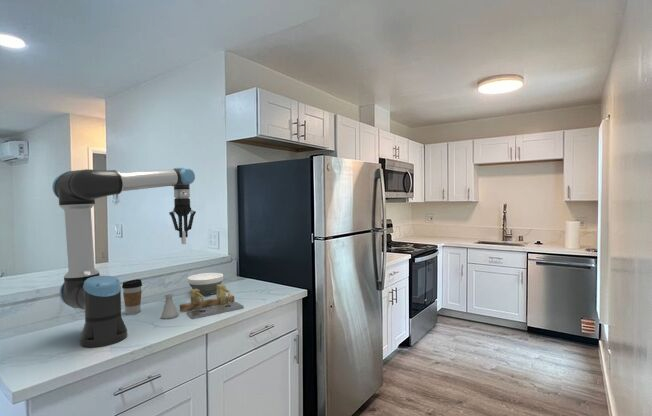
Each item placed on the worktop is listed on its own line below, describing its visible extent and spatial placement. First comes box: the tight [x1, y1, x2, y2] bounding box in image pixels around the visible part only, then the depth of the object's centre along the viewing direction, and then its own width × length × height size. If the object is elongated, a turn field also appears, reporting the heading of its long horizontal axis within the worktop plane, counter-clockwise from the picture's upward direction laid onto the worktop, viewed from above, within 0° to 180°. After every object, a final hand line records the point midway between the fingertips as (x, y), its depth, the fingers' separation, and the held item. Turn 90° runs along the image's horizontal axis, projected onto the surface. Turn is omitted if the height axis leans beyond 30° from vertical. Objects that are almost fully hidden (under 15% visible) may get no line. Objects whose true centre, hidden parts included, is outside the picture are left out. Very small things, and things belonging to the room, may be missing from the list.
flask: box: [160, 293, 179, 320], centre depth 160 cm, size 7×7×10 cm
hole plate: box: [186, 301, 245, 320], centre depth 167 cm, size 24×9×1 cm, turn 126°
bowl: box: [187, 272, 224, 296], centre depth 203 cm, size 20×20×10 cm
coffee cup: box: [121, 278, 143, 315], centre depth 168 cm, size 8×8×15 cm
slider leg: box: [216, 283, 231, 305], centre depth 176 cm, size 3×14×9 cm, turn 36°
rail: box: [179, 288, 235, 313], centre depth 172 cm, size 26×14×9 cm, turn 126°
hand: (183, 243), depth 182 cm, fingers closed
